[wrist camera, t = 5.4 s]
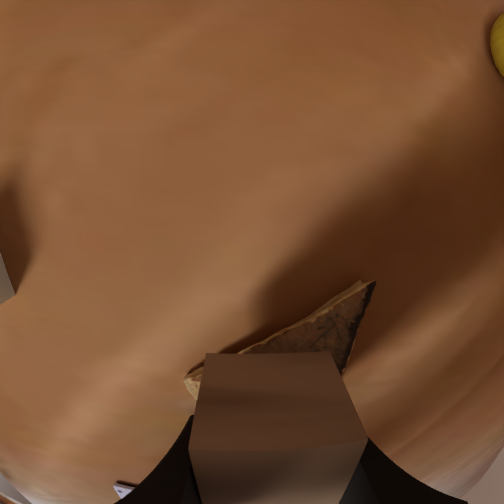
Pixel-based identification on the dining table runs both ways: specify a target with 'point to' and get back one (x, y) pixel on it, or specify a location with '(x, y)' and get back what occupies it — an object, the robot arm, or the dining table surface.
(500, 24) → the lemon
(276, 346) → the shard
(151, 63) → the dining table surface
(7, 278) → the white cube
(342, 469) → the walnut block
